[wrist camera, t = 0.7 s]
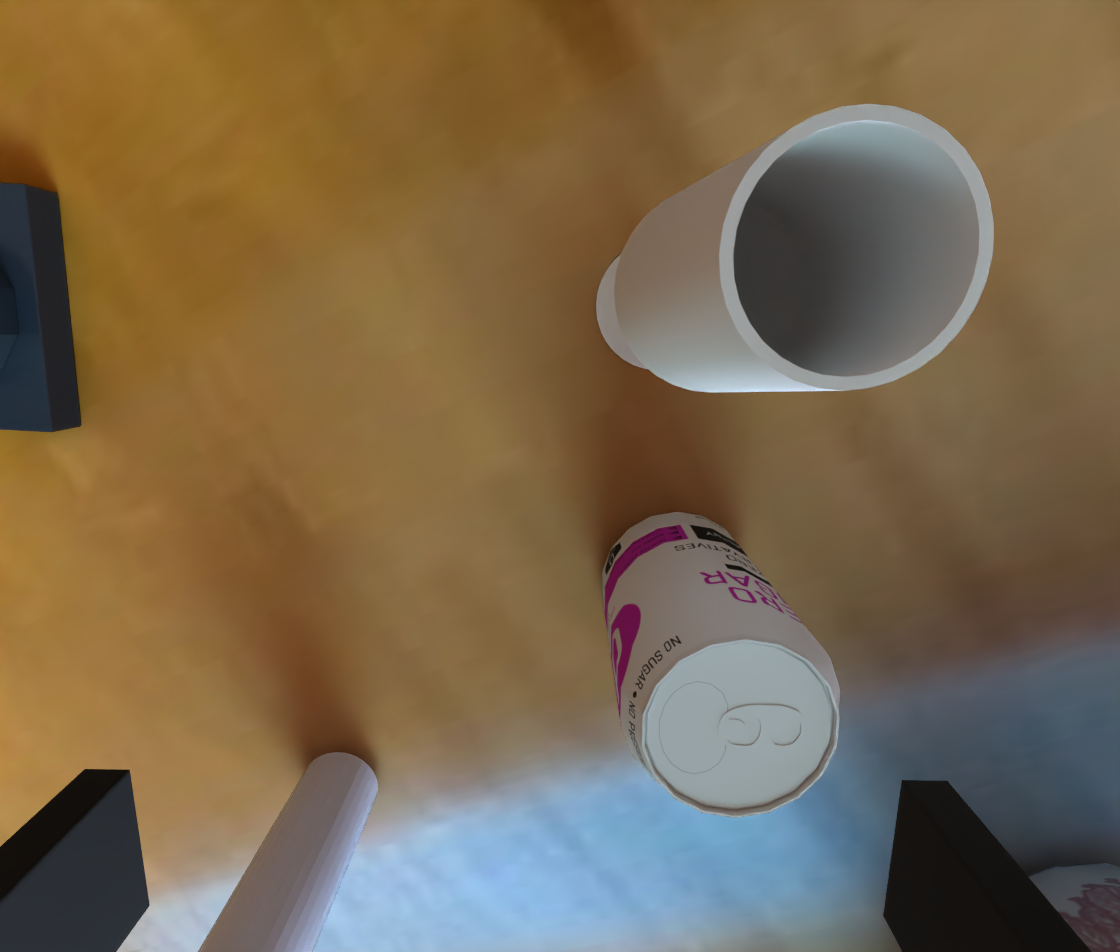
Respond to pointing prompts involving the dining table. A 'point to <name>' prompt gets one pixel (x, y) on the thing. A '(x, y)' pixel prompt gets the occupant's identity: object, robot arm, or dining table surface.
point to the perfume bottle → (299, 862)
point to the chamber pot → (1086, 901)
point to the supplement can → (714, 670)
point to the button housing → (34, 315)
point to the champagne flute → (807, 260)
